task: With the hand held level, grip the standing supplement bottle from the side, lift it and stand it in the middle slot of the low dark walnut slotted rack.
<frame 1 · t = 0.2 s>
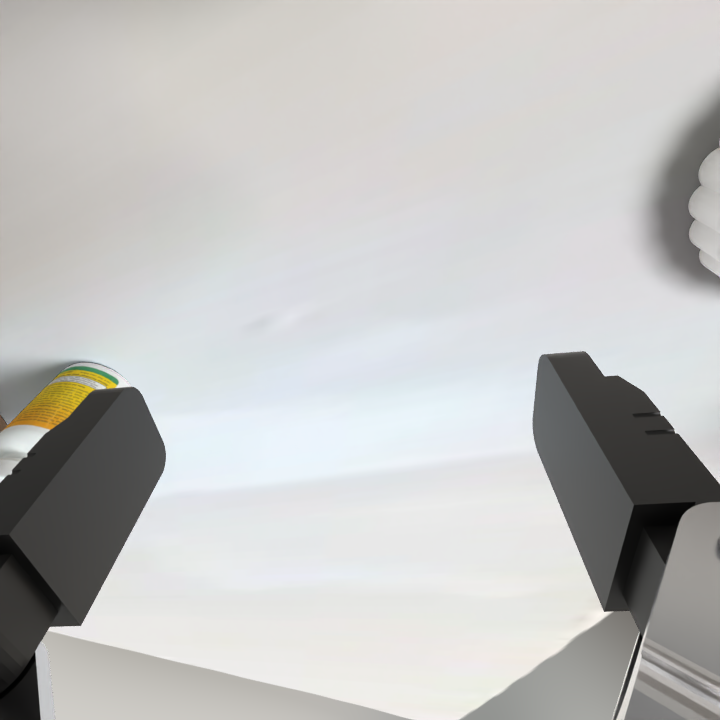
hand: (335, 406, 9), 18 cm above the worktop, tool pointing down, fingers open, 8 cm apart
supplement bottle: (101, 389, 33), on the worktop
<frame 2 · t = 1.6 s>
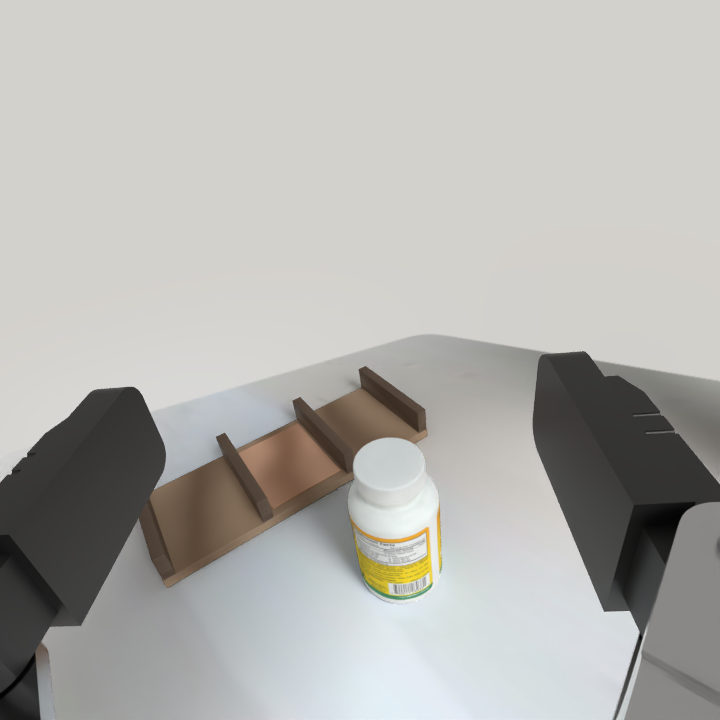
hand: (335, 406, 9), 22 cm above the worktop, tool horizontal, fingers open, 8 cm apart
supplement bottle: (401, 568, 31), on the worktop
slot rack: (288, 469, 39), on the worktop
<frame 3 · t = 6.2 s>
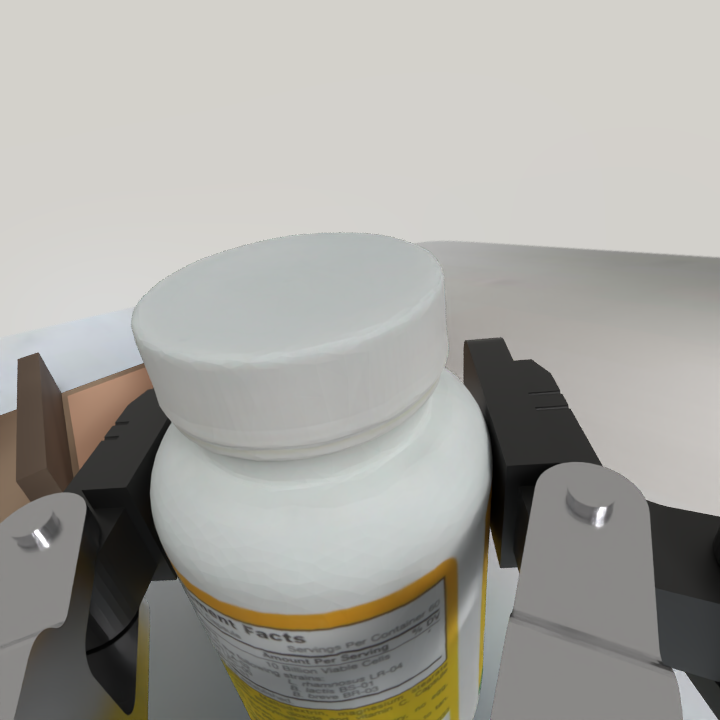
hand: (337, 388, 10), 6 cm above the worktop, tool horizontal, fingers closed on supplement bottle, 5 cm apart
supplement bottle: (367, 661, 11), on the worktop, touching gripper
slot rack: (159, 424, 20), on the worktop
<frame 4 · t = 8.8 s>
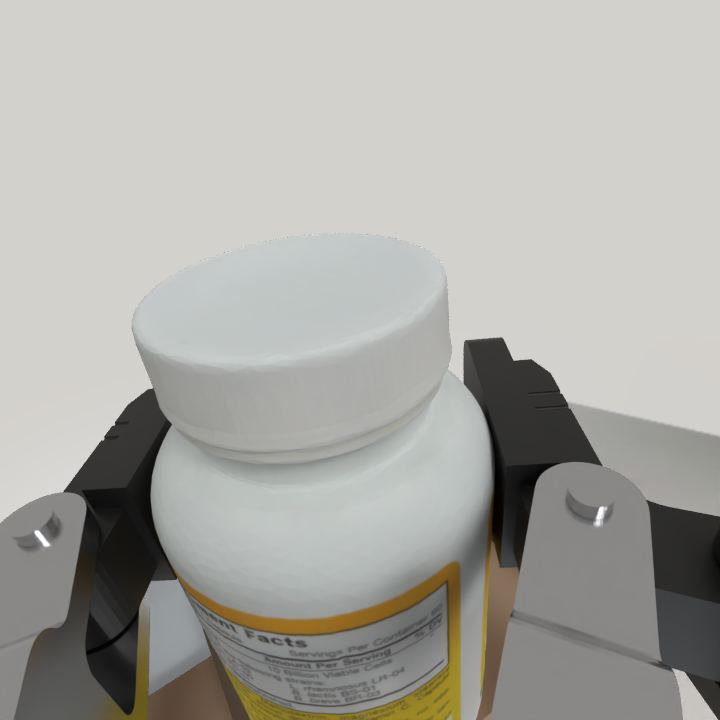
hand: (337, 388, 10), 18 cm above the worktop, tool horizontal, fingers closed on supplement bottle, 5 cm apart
supplement bottle: (368, 664, 11), point 12 cm above the worktop, touching gripper
slot rack: (338, 693, 21), on the worktop
when the fingers open (9 cm above the worktop, at t = 11.7 s): supplement bottle drops 2 cm, resting on slot rack.
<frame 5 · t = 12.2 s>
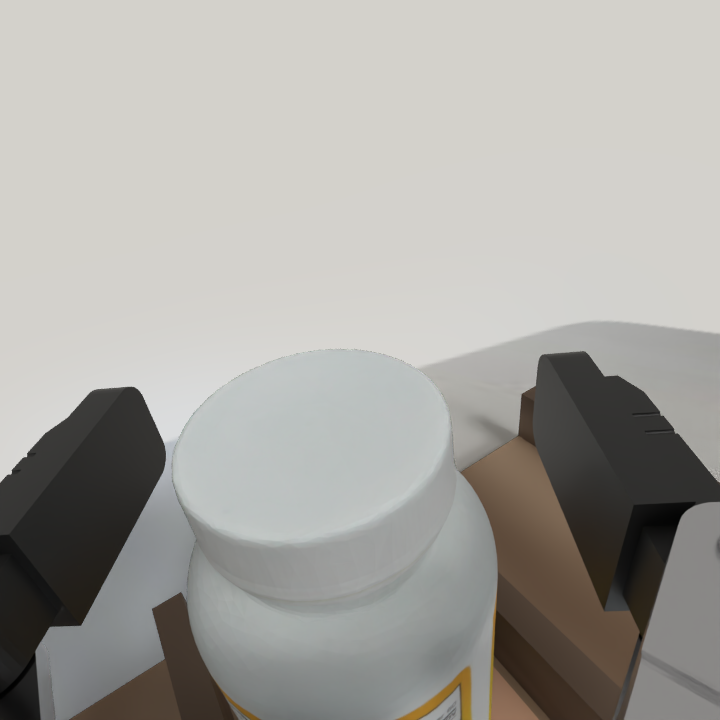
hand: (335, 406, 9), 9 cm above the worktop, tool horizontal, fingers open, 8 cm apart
supplement bottle: (382, 712, 12), point 1 cm above the worktop, touching slot rack
slot rack: (378, 714, 13), on the worktop
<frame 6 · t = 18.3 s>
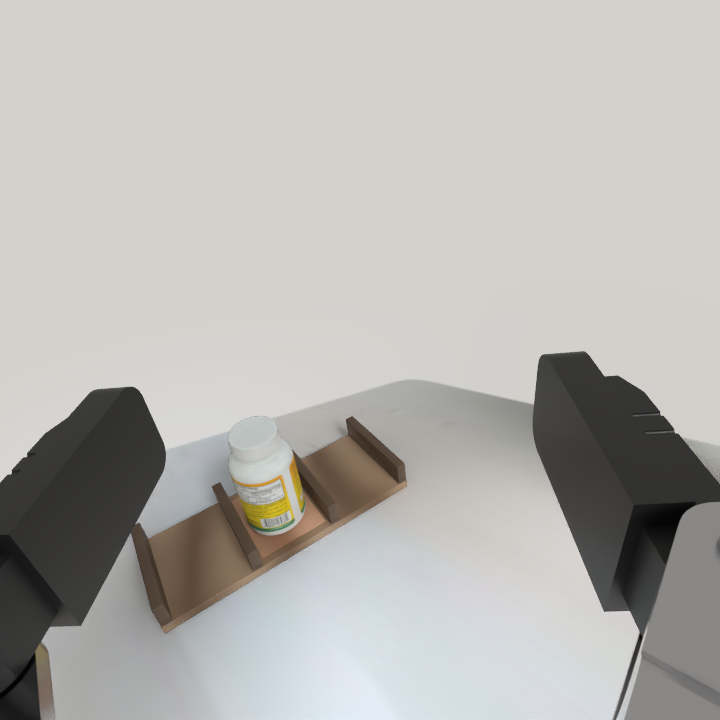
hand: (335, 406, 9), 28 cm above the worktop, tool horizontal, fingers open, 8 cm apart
supplement bottle: (278, 513, 42), point 1 cm above the worktop, touching slot rack
slot rack: (278, 517, 43), on the worktop
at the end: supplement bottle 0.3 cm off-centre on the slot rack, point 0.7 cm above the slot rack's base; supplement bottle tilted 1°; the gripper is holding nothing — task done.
